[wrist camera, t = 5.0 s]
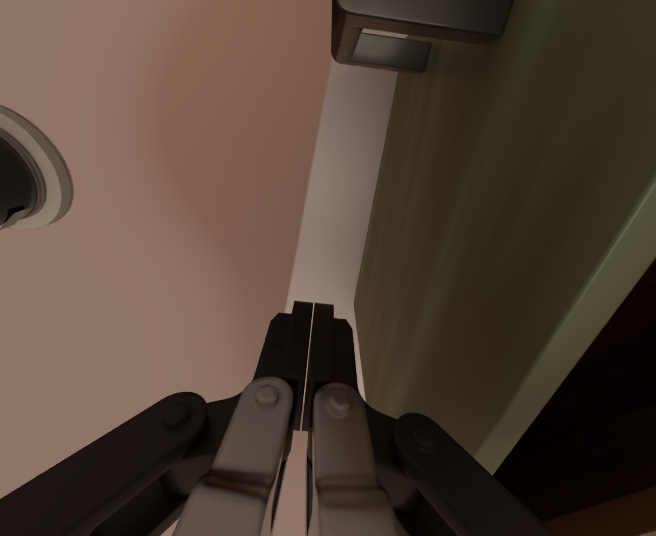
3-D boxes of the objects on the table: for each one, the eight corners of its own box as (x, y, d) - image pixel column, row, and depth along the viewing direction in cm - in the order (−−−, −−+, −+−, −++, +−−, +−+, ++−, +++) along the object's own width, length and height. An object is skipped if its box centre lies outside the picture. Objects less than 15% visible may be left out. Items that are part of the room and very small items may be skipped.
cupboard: (361, 307, 36) (408, 597, 14) (573, 153, 27) (1525, 306, 5) (439, 378, 42) (554, 656, 20) (632, 272, 33) (1189, 564, 12)
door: (308, 299, 35) (274, 582, 14) (334, 27, 22) (412, -1417, 1) (361, 304, 35) (408, 589, 14) (417, 39, 23) (1569, -948, 2)
